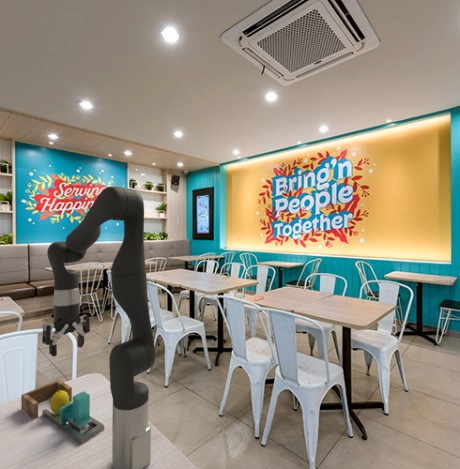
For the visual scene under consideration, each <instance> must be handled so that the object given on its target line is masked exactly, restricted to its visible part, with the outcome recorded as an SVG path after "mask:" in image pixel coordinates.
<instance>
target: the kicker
mask: <svg viewBox="0 0 460 469" xmlns="http://www.w3.org/2000/svg"><path fill="white" fill-rule="evenodd" d="M90 397H91V396H90V394H89V393H87V392H85V391H81V392H79V393H77V394H75V395H72V401H70V402H69V404H67V405H65V406H63V407H61V408H60V414H59V418H60V424H61V425H62V424H64V423H67V424H68V425H69V426H71V427H72V428H74V429H75V430H76V431H78V432H79V433H81V434H82V435H83V434H84V433H86V432H88V431H89V430H91V429H92V428H94V427H93V421H92V420H91V419H90V416H91V415H90V413H91V412H90V409H91V408H90V407H91V406H90V400H91V398H90Z"/></svg>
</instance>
